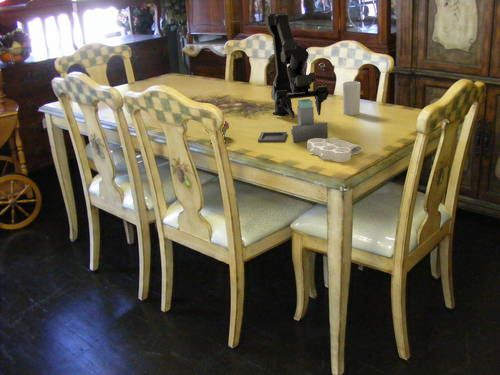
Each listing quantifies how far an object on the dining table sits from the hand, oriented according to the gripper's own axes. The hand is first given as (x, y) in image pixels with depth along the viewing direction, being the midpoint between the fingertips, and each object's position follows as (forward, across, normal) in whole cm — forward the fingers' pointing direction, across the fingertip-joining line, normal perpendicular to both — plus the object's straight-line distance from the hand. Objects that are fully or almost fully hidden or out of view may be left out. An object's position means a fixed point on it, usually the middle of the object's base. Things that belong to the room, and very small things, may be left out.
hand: (306, 116), depth 207 cm
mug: (-13, +25, +24) cm, 37 cm away
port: (+5, 0, +6) cm, 8 cm away
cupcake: (-2, -30, +14) cm, 33 cm away
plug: (+5, 0, +6) cm, 8 cm away
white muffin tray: (+19, +3, -7) cm, 20 cm away
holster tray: (+3, -12, +8) cm, 14 cm away
